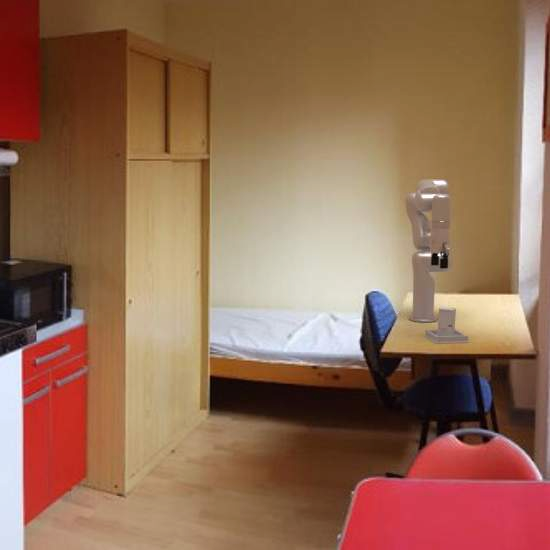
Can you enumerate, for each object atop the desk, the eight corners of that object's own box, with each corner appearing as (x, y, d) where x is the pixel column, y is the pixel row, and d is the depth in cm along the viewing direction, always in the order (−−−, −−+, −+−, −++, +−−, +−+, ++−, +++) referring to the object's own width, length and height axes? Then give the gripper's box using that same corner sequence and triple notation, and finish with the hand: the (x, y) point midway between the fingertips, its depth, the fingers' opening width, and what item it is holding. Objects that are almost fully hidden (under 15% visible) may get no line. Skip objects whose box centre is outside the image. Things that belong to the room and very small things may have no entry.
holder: (425, 336, 322) (425, 330, 321) (455, 335, 324) (455, 329, 324) (437, 343, 309) (437, 337, 309) (468, 342, 311) (468, 335, 311)
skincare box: (436, 337, 316) (437, 308, 315) (440, 335, 320) (441, 306, 319) (452, 339, 313) (453, 309, 312) (455, 337, 317) (456, 308, 316)
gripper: (424, 223, 328) (423, 264, 330) (439, 227, 311) (438, 269, 313) (441, 223, 329) (440, 264, 331) (457, 226, 312) (456, 269, 315)
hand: (439, 266), depth 322 cm, fingers open, 9 cm apart
